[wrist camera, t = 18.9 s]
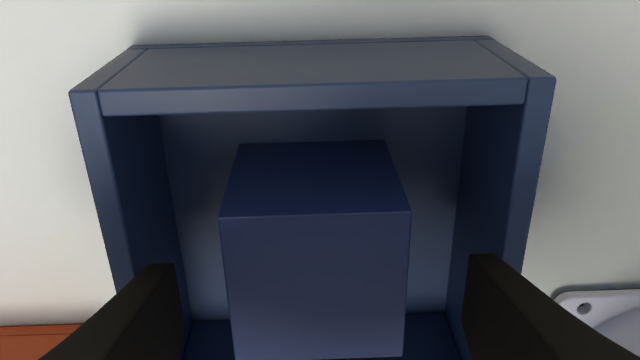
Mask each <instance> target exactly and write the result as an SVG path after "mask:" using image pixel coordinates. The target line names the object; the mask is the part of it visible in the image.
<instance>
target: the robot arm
mask: <svg viewBox="0 0 640 360" xmlns="http://www.w3.org/2000/svg"><path fill="white" fill-rule="evenodd" d="M582 303H585V304H584V305H583V306H581V307H578V306H579V305H581V304H582ZM461 322H462V326H463V330H464V334H465V338H466V342H467V345H468V349H469V352H470V356H471V359H472V360H640V289H632V290H603V291H574V292H564V293H562V294H560V295H558V296H557V297H556V298H555V299H554V300H552V299H551V298H550V297H548V296H547V295H546V294H545V293H543V292H542V291H541V290H539V289H538V288H537V287H536V286H534V285H533V284H532V283H531V282H529V281H528V280H527V279H526V278H524V277H523V276H522V275H521V274H520V273H518V272H517V271H516V270H515V269H513V268H512V267H511V266H510V265H508V264H507V263H506V262H505V261H503V260H502V259H501V258H500V257H498V256H497V255H496V254H494V253H488V254H469V258H468V266H467V275H466V283H465V291H464V299H463V307H462V315H461ZM184 333H185V323H184V318H183V312H182V306H181V300H180V295H179V289H178V283H177V277H176V272H175V266H174V263H158V264H148V265H147V266H146V267H145V268H144V269H143V270H141V271H140V272H139V273H138V274H137V275H136V276H135V277H134V278H133V279H132V280H131V281H130V282H129V283H128V284H127V285H126V286H125V287H123V288H122V289H121V290H120V291H119V292H118V293H117V294H116V295H115V296H114V297H113V298H112V299H111V300H109V301H108V302H107V303H106V304H105V305H104V306H103V307H102V308H101V309H100V310H98V311H97V312H96V313H95V314H94V315H93V316H92V317H91V318H89V319H88V320H87V321H86V322H85V323H83V324H82V325H81V326H80V327H79V328H77V329H76V330H75V331H74V332H73V333H71V334H70V335H69V336H68V337H66V338H65V339H64V340H63V341H62V342H60V343H59V344H58V345H57V346H55V347H54V348H53V349H51V350H50V351H49V352H47V353H46V354H45V355H43V356H42V357H41V358H39V359H38V360H179V359H180V355H181V350H182V344H183V339H184Z"/></svg>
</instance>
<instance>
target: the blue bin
mask: <svg viewBox="0 0 640 360" xmlns="http://www.w3.org/2000/svg"><path fill="white" fill-rule="evenodd" d="M555 84H556V77H554V76H553V75H551V74H549V73H548V72H546V71H545V70H543V69H541V68H540V67H538V66H536V65H535V64H533V63H532V62H530V61H528V60H527V59H525V58H523V57H522V56H520V55H519V54H517V53H515V52H514V51H512V50H510V49H509V48H507V47H505V46H504V45H502V44H501V43H499V42H497V41H496V40H494V39H493V38H491V37H489V36H467V37H430V38H393V39H356V40H319V41H282V42H245V43H208V44H171V45H134V46H131V47H129V48H128V49H127V50H126V51H124V52H123V53H121V54H120V55H119V56H117V57H116V58H114V59H113V60H112V61H110V62H109V63H107V64H106V65H105V66H103V67H102V68H100V69H99V70H98V71H96V72H95V73H93V74H92V75H91V76H89V77H88V78H86V79H85V80H84V81H82V82H81V83H79V84H78V85H77V86H75V87H74V88H72V89H71V90H70V91H69V93H68V94H69V98H70V103H71V107H72V111H73V115H74V119H75V123H76V127H77V132H78V136H79V140H80V144H81V148H82V152H83V156H84V161H85V165H86V169H87V173H88V177H89V181H90V185H91V190H92V194H93V198H94V202H95V206H96V210H97V214H98V219H99V223H100V227H101V231H102V235H103V239H104V243H105V248H106V252H107V256H108V260H109V264H110V268H111V272H112V277H113V281H114V285H115V289H116V293H118V292H119V291H120V290H121V289H122V288H123V287H125V286H126V285H127V284H128V283H129V282H130V281H131V280H132V279H133V278H134V277H135V276H136V275H137V274H138V273H139V272H140V271H141V270H143V269H144V268H145V267H146V266H147V265H148V264H158V263H174V266H175V272H176V277H177V283H178V289H179V295H180V300H181V306H182V312H183V318H184V323H185V333H184V339H183V344H182V350H181V355H180V359H179V360H235V355H234V347H233V339H232V331H231V323H230V315H229V307H228V299H227V291H226V283H225V275H224V267H223V259H222V251H221V243H220V235H219V227H218V219H217V218H218V215H219V212H220V208H221V205H222V201H223V198H224V195H225V191H226V188H227V184H228V181H229V178H230V174H231V171H232V167H233V164H234V160H235V157H236V154H237V150H238V147H239V144H258V143H291V142H325V141H358V140H385V141H386V144H387V146H388V149H389V152H390V154H391V157H392V160H393V163H394V165H395V168H396V171H397V173H398V176H399V179H400V181H401V184H402V187H403V189H404V192H405V195H406V197H407V200H408V203H409V205H410V208H411V211H412V221H411V236H410V252H409V267H408V282H407V298H406V313H405V328H404V344H403V355H402V356H401V357H375V358H347V359H320V360H472V359H471V356H470V352H469V349H468V345H467V342H466V338H465V334H464V330H463V326H462V322H461V315H462V307H463V299H464V291H465V283H466V275H467V266H468V258H469V254H488V253H494V254H496V255H497V256H498V257H500V258H501V259H502V260H503V261H505V262H506V263H507V264H508V265H510V266H511V267H512V268H513V269H515V270H516V271H517V272H518V273H520V274H521V271H522V265H523V260H524V254H525V249H526V243H527V238H528V232H529V227H530V221H531V216H532V210H533V205H534V199H535V194H536V188H537V183H538V177H539V172H540V166H541V161H542V155H543V150H544V144H545V139H546V133H547V128H548V122H549V117H550V111H551V106H552V100H553V95H554V89H555Z"/></svg>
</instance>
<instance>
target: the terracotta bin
mask: <svg viewBox="0 0 640 360" xmlns="http://www.w3.org/2000/svg"><path fill="white" fill-rule="evenodd" d="M81 325H82V324H74V325H46V326H17V327H0V360H38V359H39V358H41V357H42V356H43V355H45V354H46V353H47V352H49V351H50V350H51V349H53V348H54V347H55V346H57V345H58V344H59V343H60V342H62V341H63V340H64V339H65V338H66V337H68V336H69V335H70V334H71V333H73V332H74V331H75V330H76V329H77V328H79V327H80V326H81Z"/></svg>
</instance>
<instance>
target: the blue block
mask: <svg viewBox="0 0 640 360" xmlns="http://www.w3.org/2000/svg"><path fill="white" fill-rule="evenodd" d="M217 219H218V227H219V235H220V243H221V251H222V259H223V267H224V275H225V283H226V291H227V299H228V307H229V315H230V323H231V331H232V339H233V347H234V355H235V360H320V359H347V358H375V357H401V356H402V355H403V344H404V328H405V313H406V298H407V282H408V267H409V252H410V236H411V221H412V211H411V208H410V205H409V203H408V200H407V197H406V195H405V192H404V189H403V187H402V184H401V181H400V179H399V176H398V173H397V171H396V168H395V165H394V163H393V160H392V157H391V154H390V152H389V149H388V146H387V144H386V141H385V140H358V141H325V142H291V143H258V144H239V147H238V150H237V154H236V157H235V160H234V164H233V167H232V171H231V174H230V178H229V181H228V184H227V188H226V191H225V195H224V198H223V201H222V205H221V208H220V212H219V215H218V218H217Z"/></svg>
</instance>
